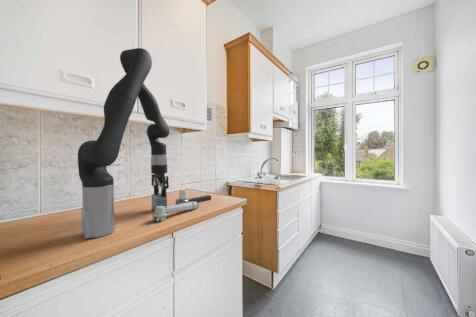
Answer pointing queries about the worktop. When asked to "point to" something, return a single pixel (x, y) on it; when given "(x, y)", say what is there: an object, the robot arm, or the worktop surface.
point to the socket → (158, 200)
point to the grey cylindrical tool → (172, 210)
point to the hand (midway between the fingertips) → (160, 195)
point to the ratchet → (197, 199)
